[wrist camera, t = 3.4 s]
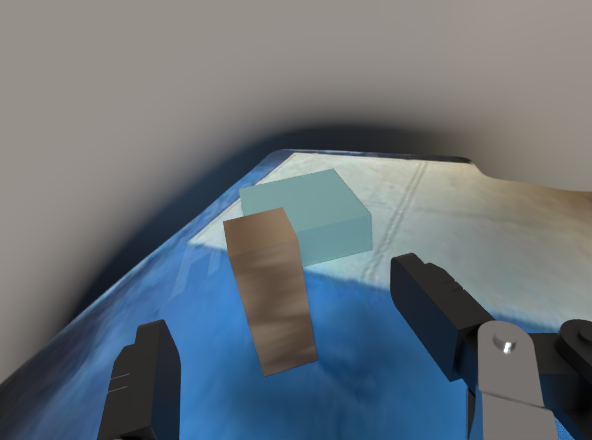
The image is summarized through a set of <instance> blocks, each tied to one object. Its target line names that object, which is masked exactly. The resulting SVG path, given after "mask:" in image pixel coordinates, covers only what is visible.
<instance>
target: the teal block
mask: <svg viewBox="0 0 592 440" xmlns="http://www.w3.org/2000/svg"><path fill="white" fill-rule="evenodd" d="M239 193H240V198H241V203H242V208H243V214H244V216H248V215H252V214H256V213H260V212H264V211H268V210H272V209H276V208H280V207H283V209H284V211H285V213H286V215H287V217H288V219H289V221H290V223H291V225H292V227H293V229H294V231H295V233H296V235H297V237H298V241H299V248H300V254H301V260H302V267H305V266H309V265H313V264H317V263H321V262H325V261H329V260H333V259H337V258H341V257H345V256H349V255H353V254H357V253H361V252H365V251H369V250H372V219H371V213H370V212H369V211H368V210H367V208H366V207H365V206H364V205H363V204H362V202H361V201H360V200H359V199H358V198H357V196H356V195H355V194H354V193H353V192H352V190H351V189H350V188H349V187H348V186H347V184H346V183H345V182H344V181H343V180H342V178H341V177H340V176H339V175H338V174H337V172H336V171H335V170H334V169H329V170H325V171H320V172H315V173H311V174H306V175H302V176H297V177H292V178H288V179H283V180H278V181H274V182H269V183H265V184H260V185H255V186H251V187H246V188H242V189H239Z"/></svg>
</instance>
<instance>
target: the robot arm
mask: <svg viewBox="0 0 592 440" xmlns="http://www.w3.org/2000/svg"><path fill="white" fill-rule="evenodd" d="M390 292H391V297H392V300H393V302H394V304H395V306H396V308H397V309H398V310H399V312H400V313H401V315H402V316H403V317H404V319H405V320H406V322H407V323H408V324H409V326H410V327H411V329H412V330H413V331H414V333H415V334H416V335H417V337H418V338H419V340H420V341H421V342H422V344H423V345H424V347H425V348H426V349H427V351H428V352H429V354H430V355H431V356H432V358H433V359H434V361H435V362H436V363H437V365H438V366H439V367H440V369H441V370H442V372H443V373H444V374H445V376H446V377H447V379H448V380H449V381H450V382H452V381H455V380H458V379H461V378H462V379H463V380H464V381H465V383H466V384H467V390H466V438H465V440H559V439H558V434H557V428H556V423H555V418H554V416H555V417H556V418H557V419H558V420H559V422H560V423H561V424H562V425H563V426H564V427H565V429H566V430H567V431H568V432H569V433H570V435H571V436H572V437H573V438H574V439H575V440H592V322H591V321H587V320H580V319H573V320H569V321H566V322H564V323H563V324H562V325H561V328H560V330H559V333H526V332H525V331H524V330H523V329H521V328H520V327H518V326H516V325H514V324H511V323H509V322H505V321H496V320H495V319H494V318H493V317H492V316H491V315H490V314H489V313H488V312H487V311H486V310H485V309H484V308H483V307H482V306H481V305H480V304H479V303H478V302H477V301H476V300H475V299H474V298H473V297H472V296H471V295H470V294H469V293H468V292H467V291H466V290H465V289H464V290H463V288H462V286H461V285H460V284H458V283H457V282H455V281H454V279H453V278H452V277H451V276H450V275H449V274H448V273H447V272H446V271H445V270H444V269H442V268H440V267H438V266H436V265H434V264H432V263H427V264H424V263H423V262H422V261H421V260H420V259H419V258H418V257H417V255H415V254H414V253H409V254H405V255H401V256H397V257H394V258H392V259H391V272H390ZM180 389H181V362H180V357H179V353H178V350H177V347H176V345H175V343H174V341H173V338H172V336H171V334H170V331H169V329H168V327H167V325H166V323H165V321H164V320H163V319H161V320H158V321H154V322H150V323H147V324H143V325H140V326H138V328H137V333H136V339H135V344H132V345H128V346H125V347H124V348H123V349H122V351H121V352H120V354H119V356H118V357H117V359H116V360H115V362H114V366H113V370H112V375H111V381H110V384H109V388H108V394H107V397H106V402H105V406H104V411H103V415H102V420H101V424H100V429H99V433H98V437H97V440H179V427H180Z"/></svg>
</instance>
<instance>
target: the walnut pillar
mask: <svg viewBox="0 0 592 440" xmlns="http://www.w3.org/2000/svg"><path fill="white" fill-rule="evenodd" d="M223 224H224V231H225V237H226V243H227V249H228V255H229V259H230V263H231V266H232V269H233V273H234V276H235V280H236V283H237V286H238V290H239V293H240V297H241V300H242V304H243V307H244V310H245V314H246V317H247V321H248V324H249V327H250V331H251V334H252V338H253V341H254V345H255V348H256V351H257V355H258V358H259V362H260V365H261V368H262V372H263V375H264V377H266V376H270V375H273V374H276V373H279V372H282V371H285V370H289V369H292V368H295V367H298V366H301V365H304V364H308V363H311V362H314V361H317V355H316V348H315V342H314V336H313V330H312V323H311V317H310V311H309V304H308V298H307V292H306V286H305V279H304V273H303V267H302V260H301V254H300V248H299V241H298V237H297V235H296V233H295V231H294V229H293V227H292V225H291V223H290V221H289V219H288V217H287V215H286V213H285V211H284V209H283V207H280V208H276V209H272V210H268V211H264V212H260V213H256V214H252V215H248V216H243V217H239V218H235V219H231V220H227V221H223Z"/></svg>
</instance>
